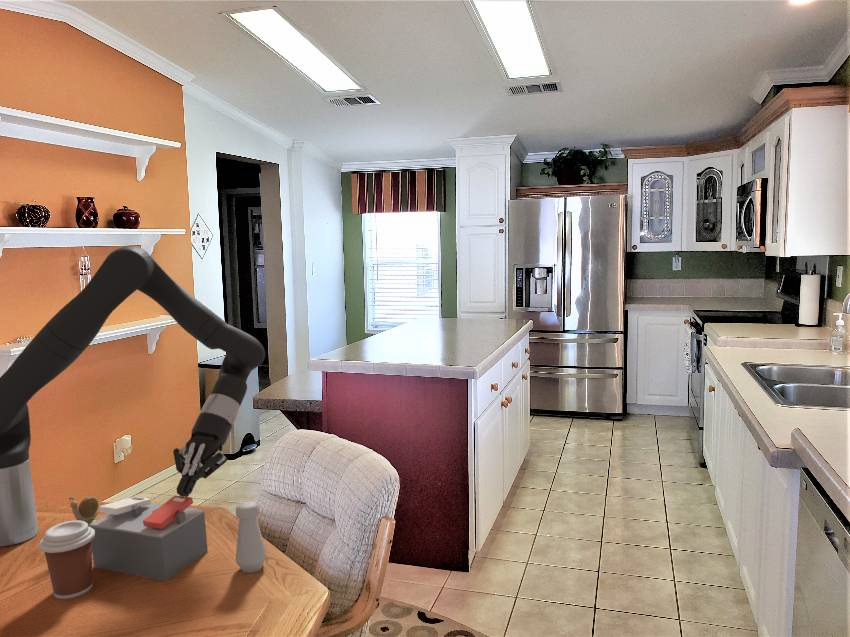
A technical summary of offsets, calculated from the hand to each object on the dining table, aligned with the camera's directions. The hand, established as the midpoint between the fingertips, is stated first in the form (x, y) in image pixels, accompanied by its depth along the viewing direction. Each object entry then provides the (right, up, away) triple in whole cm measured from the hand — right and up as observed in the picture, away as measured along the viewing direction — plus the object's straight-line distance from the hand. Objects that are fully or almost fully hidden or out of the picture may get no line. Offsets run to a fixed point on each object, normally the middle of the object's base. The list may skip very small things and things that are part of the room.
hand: (182, 495), depth 132 cm
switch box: (-6, -13, 0) cm, 14 cm away
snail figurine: (-23, -13, +7) cm, 27 cm away
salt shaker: (+16, -13, -5) cm, 21 cm away
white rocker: (-12, -2, 0) cm, 12 cm away
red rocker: (-1, -2, -3) cm, 4 cm away
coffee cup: (-16, -15, -11) cm, 24 cm away
